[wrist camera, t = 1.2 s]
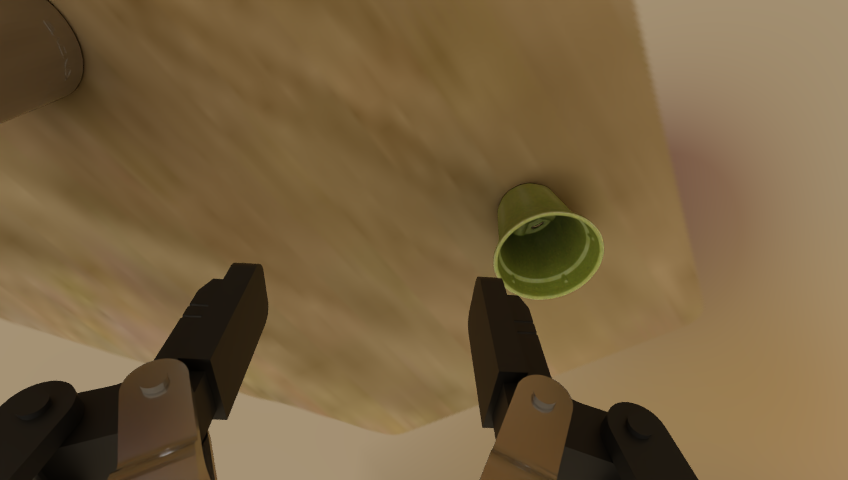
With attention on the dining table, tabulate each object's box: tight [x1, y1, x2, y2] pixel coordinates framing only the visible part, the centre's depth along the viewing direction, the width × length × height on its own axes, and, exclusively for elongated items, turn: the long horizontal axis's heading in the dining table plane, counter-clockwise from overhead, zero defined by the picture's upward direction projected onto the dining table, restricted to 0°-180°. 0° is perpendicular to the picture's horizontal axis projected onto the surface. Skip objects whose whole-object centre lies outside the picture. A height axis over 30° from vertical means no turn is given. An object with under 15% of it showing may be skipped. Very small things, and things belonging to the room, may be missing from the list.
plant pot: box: [493, 183, 604, 300], centre depth 40 cm, size 9×9×9 cm
